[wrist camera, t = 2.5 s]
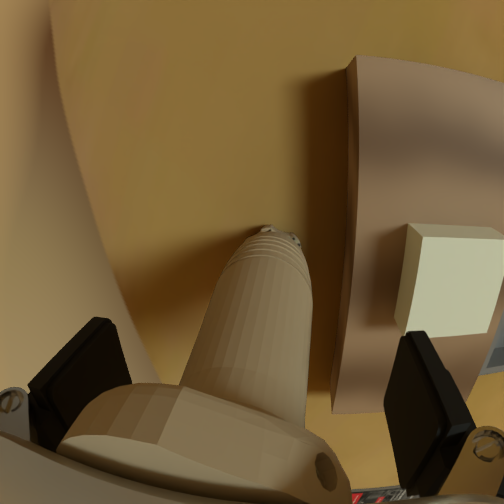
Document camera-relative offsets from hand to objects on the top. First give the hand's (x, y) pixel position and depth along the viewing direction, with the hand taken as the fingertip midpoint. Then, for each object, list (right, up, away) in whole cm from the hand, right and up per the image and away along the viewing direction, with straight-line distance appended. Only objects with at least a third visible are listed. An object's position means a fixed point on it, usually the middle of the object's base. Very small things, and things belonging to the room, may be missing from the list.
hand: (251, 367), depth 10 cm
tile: (+10, +3, +5) cm, 11 cm away
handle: (+1, +4, +9) cm, 10 cm away
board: (+10, +4, +7) cm, 13 cm away
